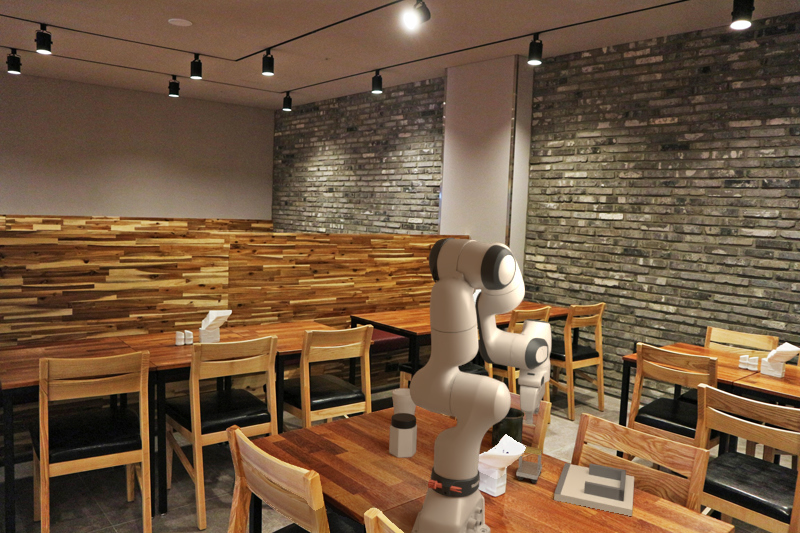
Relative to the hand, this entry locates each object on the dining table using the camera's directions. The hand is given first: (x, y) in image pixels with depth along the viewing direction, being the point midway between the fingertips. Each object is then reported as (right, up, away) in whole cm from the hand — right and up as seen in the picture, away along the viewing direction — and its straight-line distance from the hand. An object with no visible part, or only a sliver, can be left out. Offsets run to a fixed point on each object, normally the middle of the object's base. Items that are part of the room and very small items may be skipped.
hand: (532, 418), depth 170 cm
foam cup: (-38, -14, +40) cm, 57 cm away
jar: (-39, -16, +17) cm, 45 cm away
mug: (-4, -17, +23) cm, 29 cm away
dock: (+17, -19, -6) cm, 26 cm away
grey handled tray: (-1, -18, +1) cm, 18 cm away
